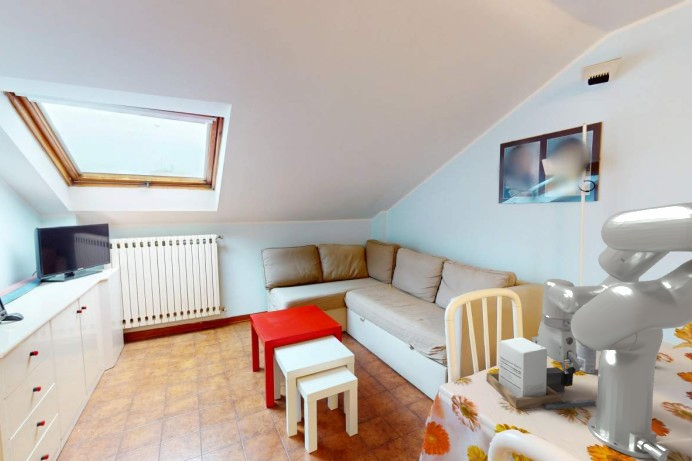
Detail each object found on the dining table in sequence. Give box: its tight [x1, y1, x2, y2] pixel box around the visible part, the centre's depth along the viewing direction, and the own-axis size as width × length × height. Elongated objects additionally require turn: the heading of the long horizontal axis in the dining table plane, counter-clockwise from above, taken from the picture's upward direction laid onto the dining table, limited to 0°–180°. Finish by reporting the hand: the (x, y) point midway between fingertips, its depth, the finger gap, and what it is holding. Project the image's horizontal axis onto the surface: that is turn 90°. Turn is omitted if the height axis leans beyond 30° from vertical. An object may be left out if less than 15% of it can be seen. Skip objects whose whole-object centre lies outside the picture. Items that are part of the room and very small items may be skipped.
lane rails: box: [542, 398, 597, 411], centre depth 90 cm, size 17×15×2 cm
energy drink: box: [576, 340, 597, 374], centre depth 102 cm, size 5×5×12 cm
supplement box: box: [498, 336, 548, 398], centre depth 89 cm, size 9×9×15 cm
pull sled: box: [486, 366, 566, 410], centre depth 90 cm, size 14×20×6 cm
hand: (552, 375), depth 91 cm, fingers open, 9 cm apart
